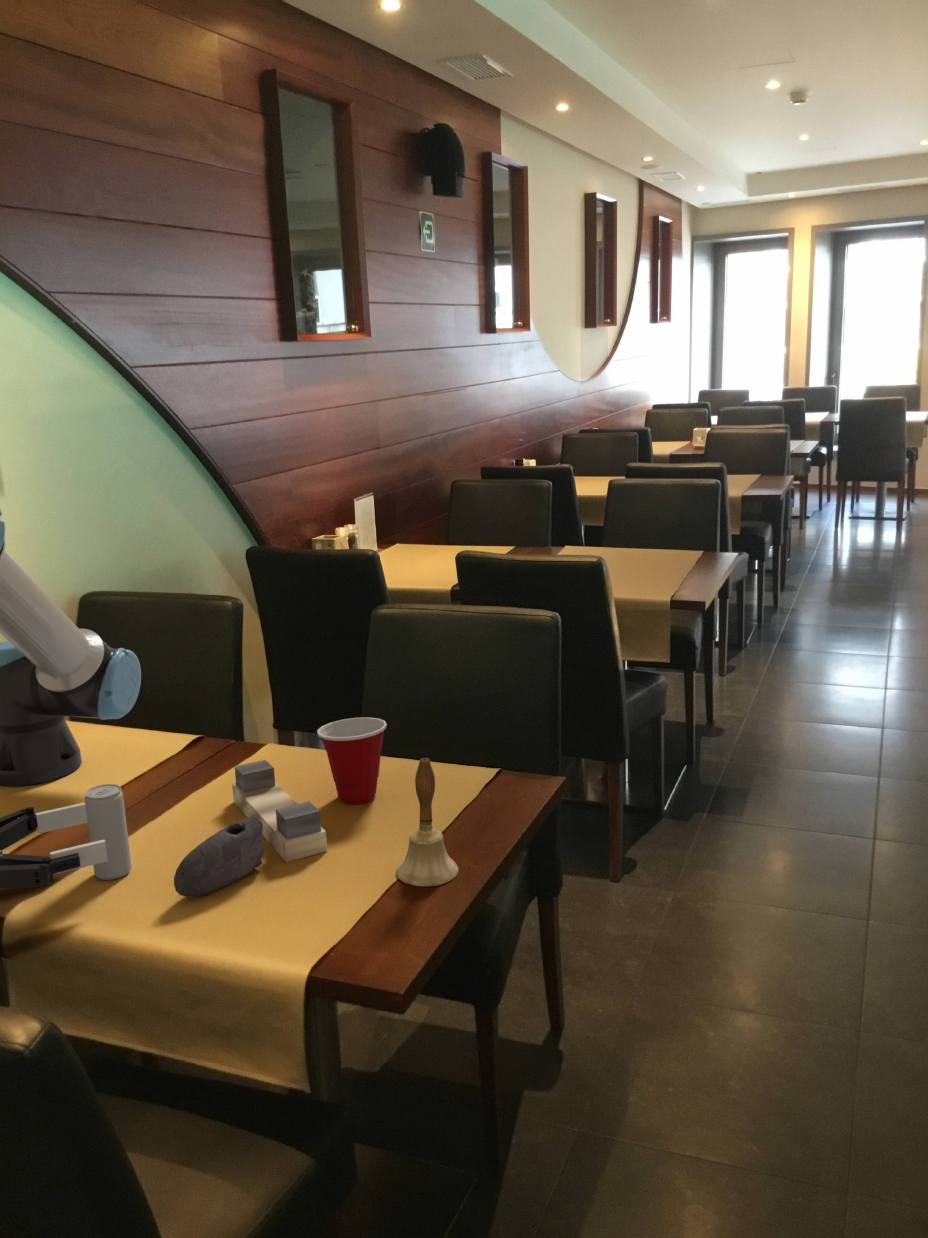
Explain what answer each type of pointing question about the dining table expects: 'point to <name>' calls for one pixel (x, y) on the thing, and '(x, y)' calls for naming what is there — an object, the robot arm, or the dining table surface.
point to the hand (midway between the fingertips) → (96, 830)
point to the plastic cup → (354, 756)
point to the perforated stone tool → (221, 859)
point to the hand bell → (426, 840)
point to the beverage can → (109, 829)
